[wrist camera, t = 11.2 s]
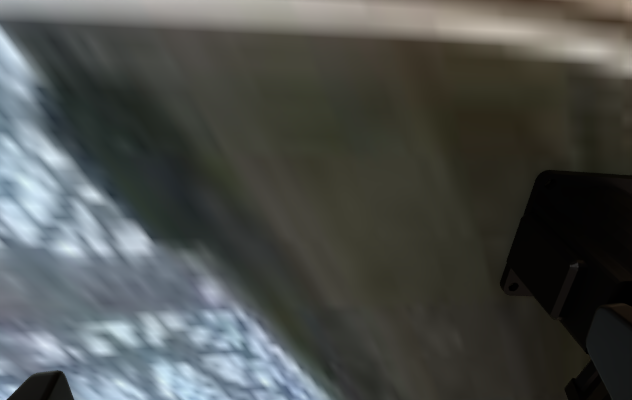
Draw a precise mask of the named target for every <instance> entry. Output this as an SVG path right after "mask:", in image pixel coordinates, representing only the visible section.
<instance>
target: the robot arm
mask: <svg viewBox="0 0 632 400" xmlns="http://www.w3.org/2000/svg"><path fill="white" fill-rule="evenodd" d="M550 179H551V182H550V184H548V185H546V186H545V184H546V182H547V181H548V180H550ZM512 283H514V284H513V285H511V286H510V284H512ZM500 286H501V288H502V290H503V291H504V292H505V293H506V294H507V295H516V296H534V297H535V298H536V300H537V301H538V302H539V303H540V305H541V306H542V307H543V308H544V310H545V311H546V312H547V313H548V314H549V316H550V317H551V318H552V319H553V320H559V321H560V322H561V323H562V324H563V326H564V327H565V328H566V329H567V330H568V332H569V333H570V334H571V335H572V337H573V338H574V339H575V340H576V341H577V343H578V344H579V345H580V346H581V347H582V349H583V350H584V351H585V352H586V353H587V354H589V355H590V357H591V361H590V362H589V363H588V364H587V366H586V367H585V368H584V369H583V370H582V372H581V373H580V374H579V375H578V376H577V378H576V379H575V378H573V379H572V380H571V381H570V382H569V383H568V385H567V386H566V387H565V392H566V395H567V397H568V400H632V176H628V175H614V174H599V173H584V172H569V171H555V170H547V171H544V172H542V173H540V174H539V175H538V177H537V178H536V180H535V183H534V186H533V189H532V192H531V195H530V198H529V201H528V204H527V206H526V209H525V212H524V215H523V217H522V218H521V221H520V224H519V227H518V229H517V232H516V235H515V238H514V241H513V244H512V247H511V250H510V253H509V255H508V258H507V264H506V267H505V270H504V273H503V276H502V279H501V282H500ZM7 400H74V398H73V395H72V392H71V390H70V387H69V384H68V381H67V379H66V376H65V374H64V373H63V372H62V371H58V370H56V371H48V372H40V373H35V374H33V375H32V376H30V377H29V378H28V379H27V380H26V381H25V382H24V383H23V384H22V385H21V386H20V387H19V388H18V389H17V390H16V391H15V392H14V393H13V394H12V395H11V396H10V397H9V398H8V399H7Z"/></svg>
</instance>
